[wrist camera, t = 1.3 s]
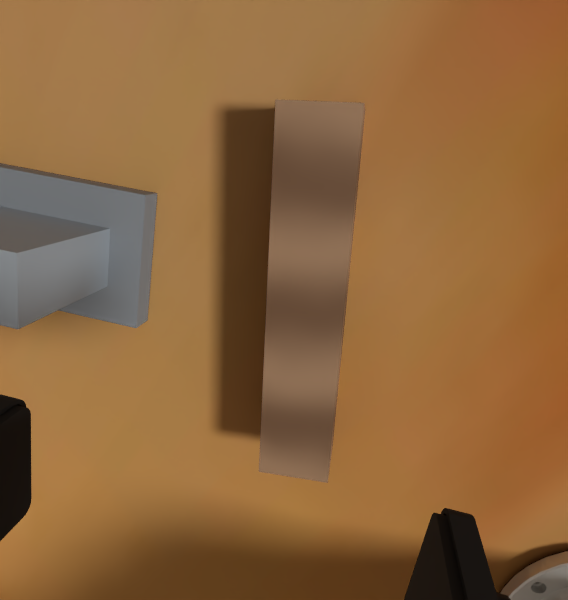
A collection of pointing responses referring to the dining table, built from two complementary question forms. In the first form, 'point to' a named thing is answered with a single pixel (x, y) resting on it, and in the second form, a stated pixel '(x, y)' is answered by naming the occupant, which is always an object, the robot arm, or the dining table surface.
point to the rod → (308, 281)
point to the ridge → (73, 248)
